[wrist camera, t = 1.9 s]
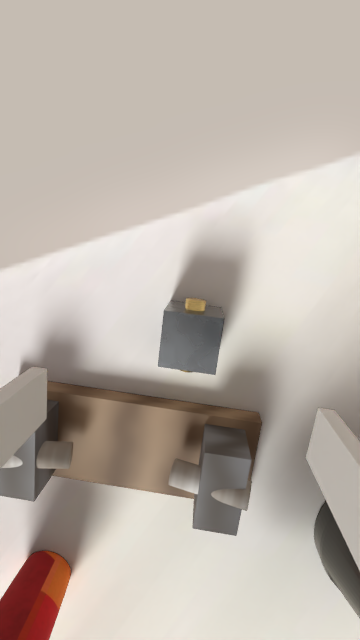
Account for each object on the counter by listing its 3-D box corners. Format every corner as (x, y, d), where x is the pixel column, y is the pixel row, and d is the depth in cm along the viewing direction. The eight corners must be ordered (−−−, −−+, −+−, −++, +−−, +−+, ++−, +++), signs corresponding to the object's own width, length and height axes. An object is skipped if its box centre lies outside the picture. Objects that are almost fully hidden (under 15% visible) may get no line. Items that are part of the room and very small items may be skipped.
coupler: (171, 292, 30) (165, 300, 25) (222, 299, 30) (225, 309, 25) (164, 355, 32) (156, 375, 27) (212, 362, 32) (213, 383, 27)
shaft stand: (258, 412, 32) (273, 457, 25) (242, 492, 35) (251, 554, 28) (18, 376, 34) (-31, 410, 27) (18, 456, 36) (-27, 506, 29)
